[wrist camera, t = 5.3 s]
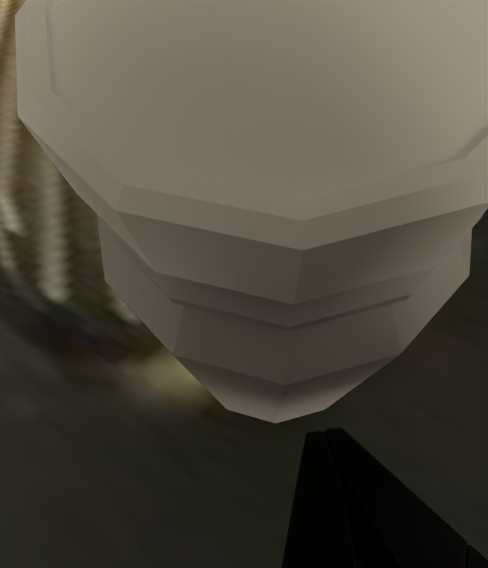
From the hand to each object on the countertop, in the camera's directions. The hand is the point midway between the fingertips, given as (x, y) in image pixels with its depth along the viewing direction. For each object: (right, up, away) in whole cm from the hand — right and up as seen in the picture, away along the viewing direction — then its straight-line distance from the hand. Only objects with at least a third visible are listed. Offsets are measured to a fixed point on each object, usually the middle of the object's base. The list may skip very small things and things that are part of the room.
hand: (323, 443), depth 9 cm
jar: (0, +1, +13) cm, 13 cm away
